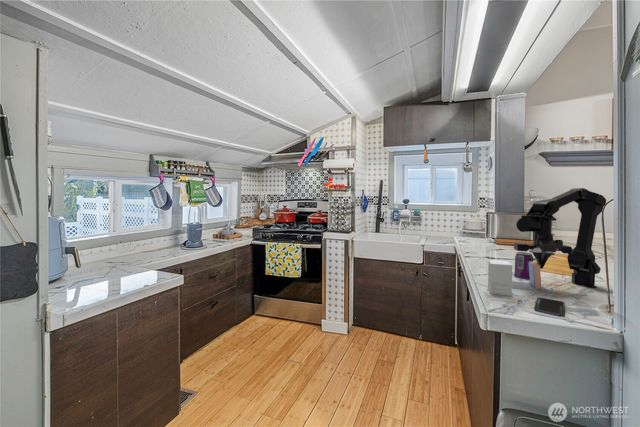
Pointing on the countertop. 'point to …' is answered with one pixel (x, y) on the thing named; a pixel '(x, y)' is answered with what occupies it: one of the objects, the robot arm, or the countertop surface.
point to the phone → (550, 306)
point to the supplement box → (500, 277)
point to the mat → (526, 286)
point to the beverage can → (522, 264)
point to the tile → (535, 275)
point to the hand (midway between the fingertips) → (541, 268)
